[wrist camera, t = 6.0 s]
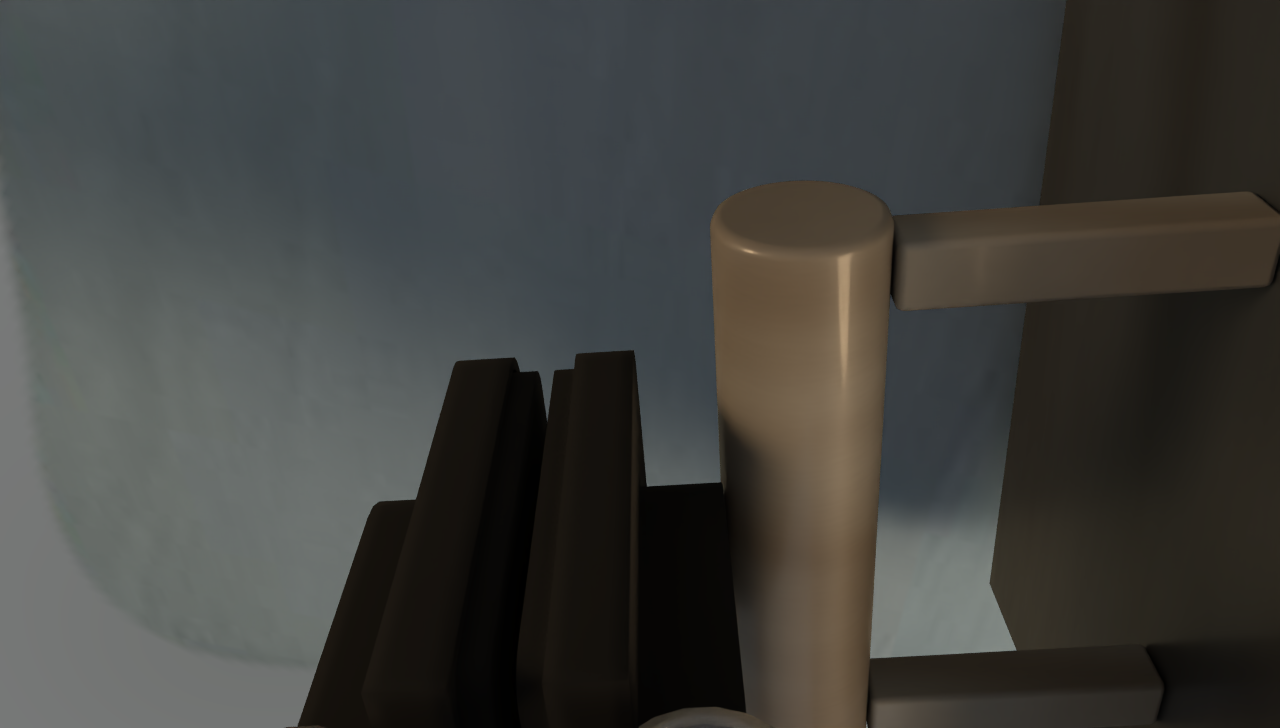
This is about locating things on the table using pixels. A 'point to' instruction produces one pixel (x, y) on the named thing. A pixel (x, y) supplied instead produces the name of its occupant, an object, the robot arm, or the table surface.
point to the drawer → (1035, 402)
